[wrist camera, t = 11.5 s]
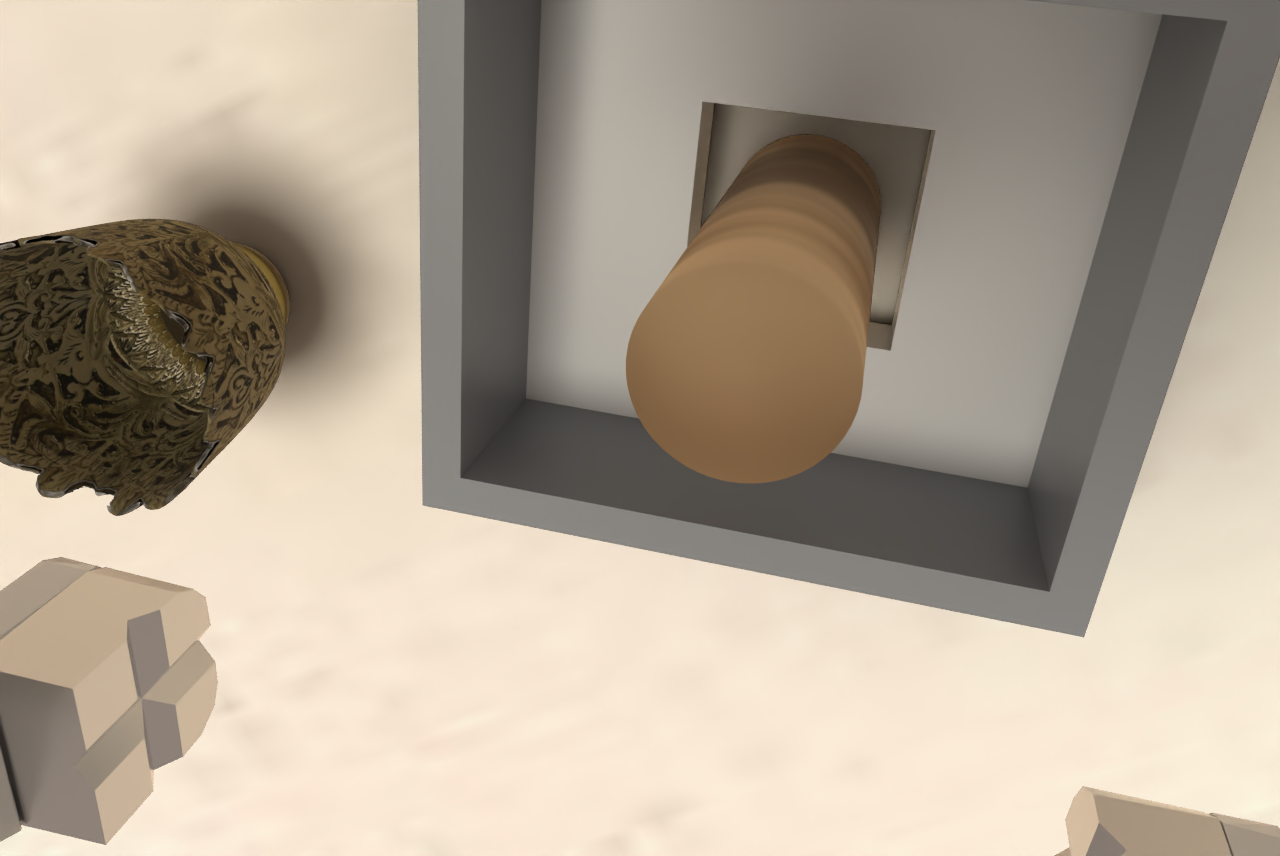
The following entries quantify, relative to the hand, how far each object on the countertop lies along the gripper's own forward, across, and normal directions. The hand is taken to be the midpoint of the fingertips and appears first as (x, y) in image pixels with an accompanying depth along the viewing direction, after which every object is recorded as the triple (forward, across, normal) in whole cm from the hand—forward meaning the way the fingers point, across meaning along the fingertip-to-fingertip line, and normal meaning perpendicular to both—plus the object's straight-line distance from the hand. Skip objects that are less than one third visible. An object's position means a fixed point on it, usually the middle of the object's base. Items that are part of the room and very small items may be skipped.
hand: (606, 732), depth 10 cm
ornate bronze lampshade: (+21, +17, +5) cm, 28 cm away
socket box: (+21, 0, 0) cm, 21 cm away
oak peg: (+21, 0, 0) cm, 21 cm away
